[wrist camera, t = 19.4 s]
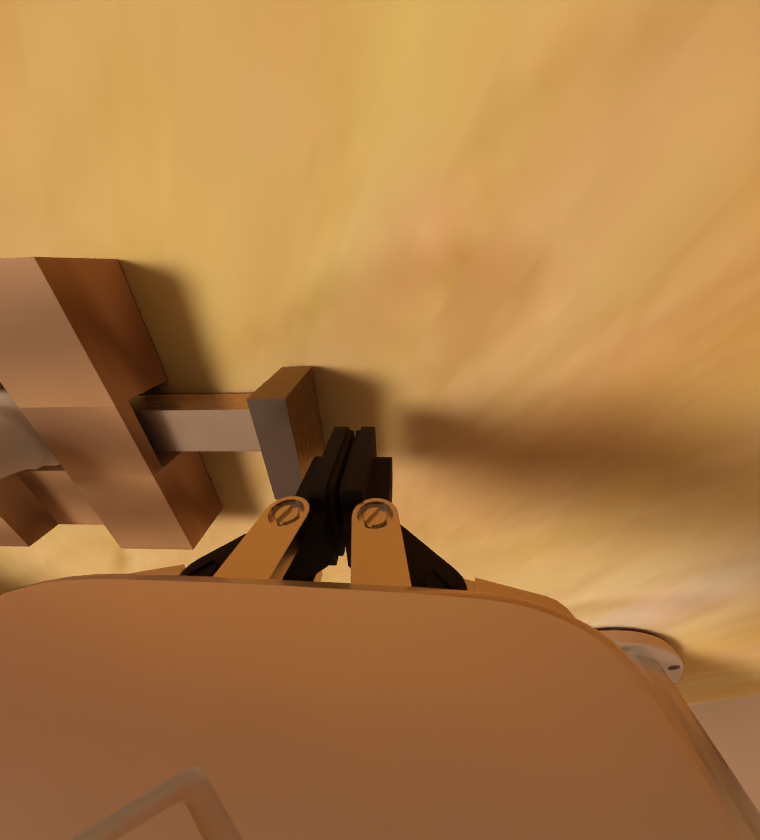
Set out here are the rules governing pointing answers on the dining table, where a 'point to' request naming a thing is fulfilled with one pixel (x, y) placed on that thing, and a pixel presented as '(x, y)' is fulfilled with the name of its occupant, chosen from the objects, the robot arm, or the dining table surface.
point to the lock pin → (243, 424)
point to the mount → (90, 411)
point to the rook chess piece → (19, 441)
